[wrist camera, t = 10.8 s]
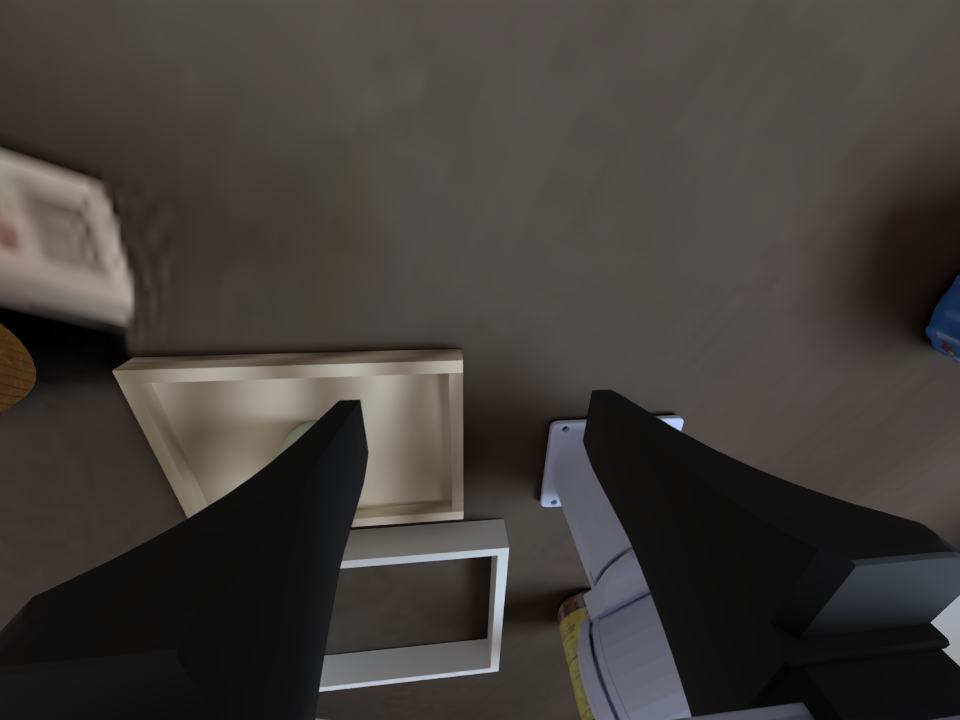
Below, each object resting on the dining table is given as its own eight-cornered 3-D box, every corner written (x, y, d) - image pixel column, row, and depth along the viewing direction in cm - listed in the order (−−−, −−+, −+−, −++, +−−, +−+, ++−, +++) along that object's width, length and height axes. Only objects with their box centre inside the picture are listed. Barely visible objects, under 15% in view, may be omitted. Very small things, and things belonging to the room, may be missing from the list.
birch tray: (461, 348, 22) (462, 360, 20) (462, 502, 28) (463, 519, 26) (133, 357, 20) (112, 370, 19) (210, 519, 26) (198, 538, 25)
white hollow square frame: (503, 519, 29) (508, 547, 27) (494, 641, 38) (498, 671, 36) (258, 536, 27) (242, 569, 25) (307, 661, 36) (299, 693, 34)
